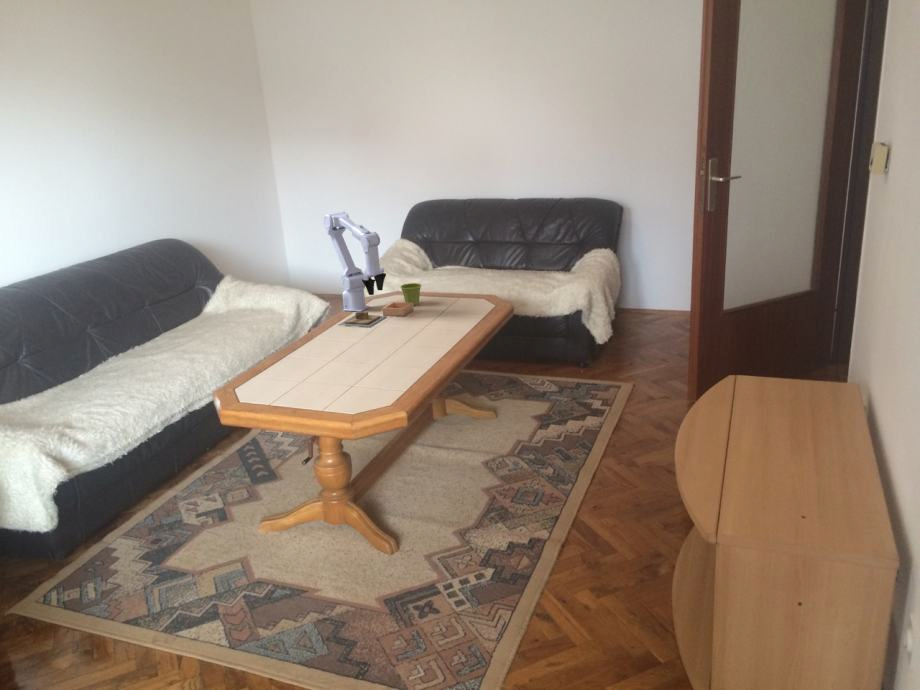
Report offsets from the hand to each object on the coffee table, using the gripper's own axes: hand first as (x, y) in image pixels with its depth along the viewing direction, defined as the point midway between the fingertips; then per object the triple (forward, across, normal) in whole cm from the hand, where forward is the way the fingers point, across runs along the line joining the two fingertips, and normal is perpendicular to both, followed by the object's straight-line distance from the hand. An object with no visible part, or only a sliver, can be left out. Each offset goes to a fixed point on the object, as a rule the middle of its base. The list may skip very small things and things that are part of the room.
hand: (375, 292), depth 324 cm
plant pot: (+10, +18, -8) cm, 22 cm away
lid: (+9, -11, +1) cm, 14 cm away
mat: (+10, -11, +1) cm, 15 cm away
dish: (+10, +4, -8) cm, 13 cm away
